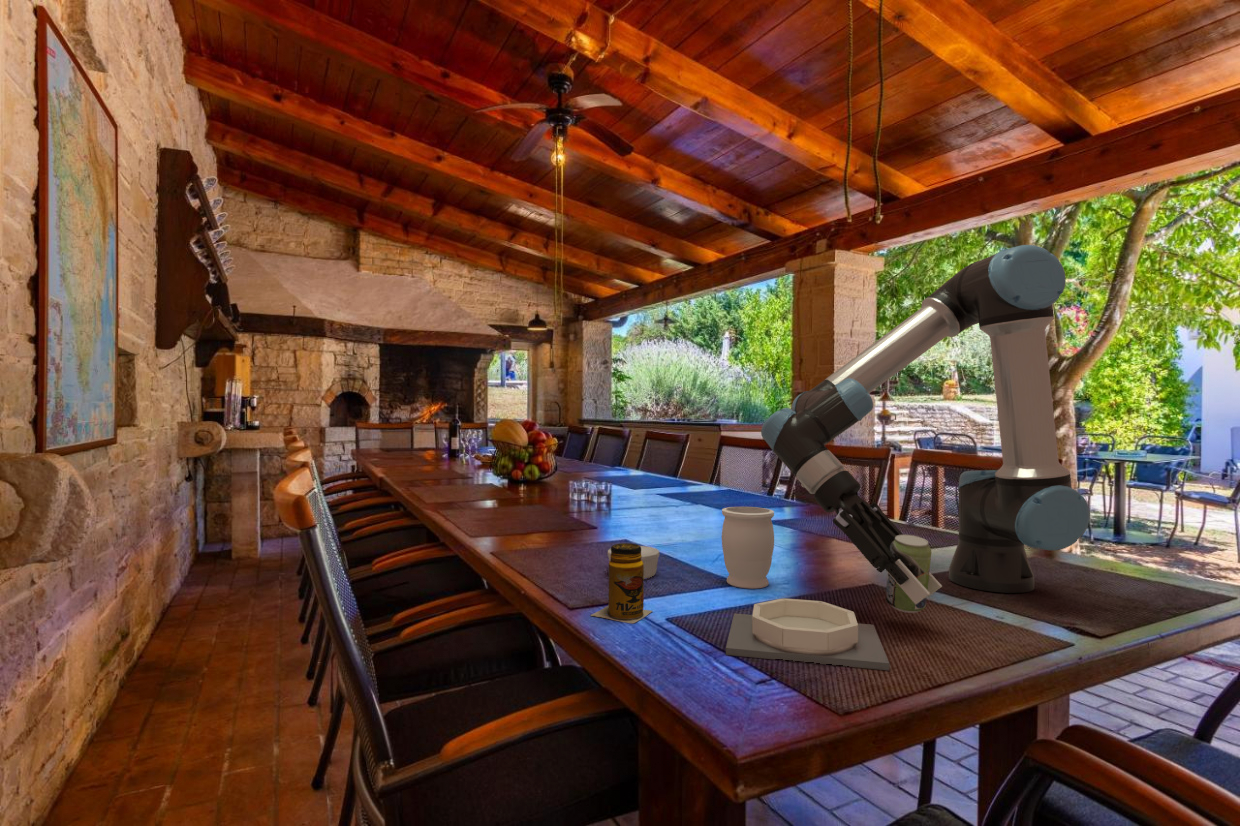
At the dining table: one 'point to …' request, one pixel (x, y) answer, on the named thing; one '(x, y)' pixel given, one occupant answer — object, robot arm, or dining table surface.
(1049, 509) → the robot arm
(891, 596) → the beverage can
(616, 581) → the condiment
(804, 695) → the dining table surface
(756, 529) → the jar
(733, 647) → the slate board
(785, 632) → the dish
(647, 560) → the ramekin
